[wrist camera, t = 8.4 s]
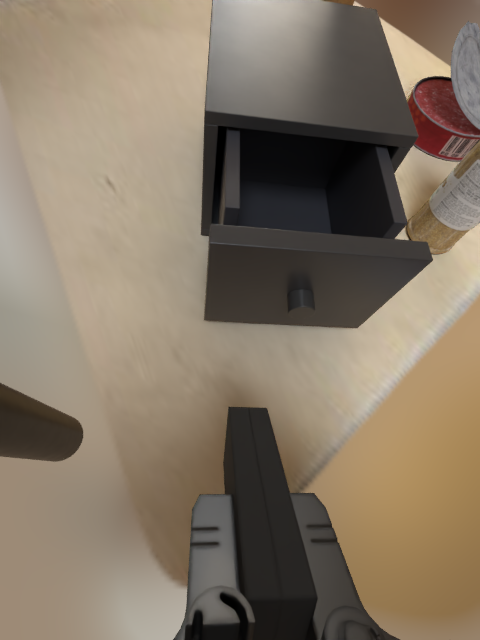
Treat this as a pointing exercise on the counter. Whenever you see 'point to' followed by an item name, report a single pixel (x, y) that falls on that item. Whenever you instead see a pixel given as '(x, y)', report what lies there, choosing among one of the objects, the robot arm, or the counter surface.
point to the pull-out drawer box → (306, 232)
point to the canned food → (450, 102)
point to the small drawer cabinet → (300, 80)
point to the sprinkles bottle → (450, 207)
